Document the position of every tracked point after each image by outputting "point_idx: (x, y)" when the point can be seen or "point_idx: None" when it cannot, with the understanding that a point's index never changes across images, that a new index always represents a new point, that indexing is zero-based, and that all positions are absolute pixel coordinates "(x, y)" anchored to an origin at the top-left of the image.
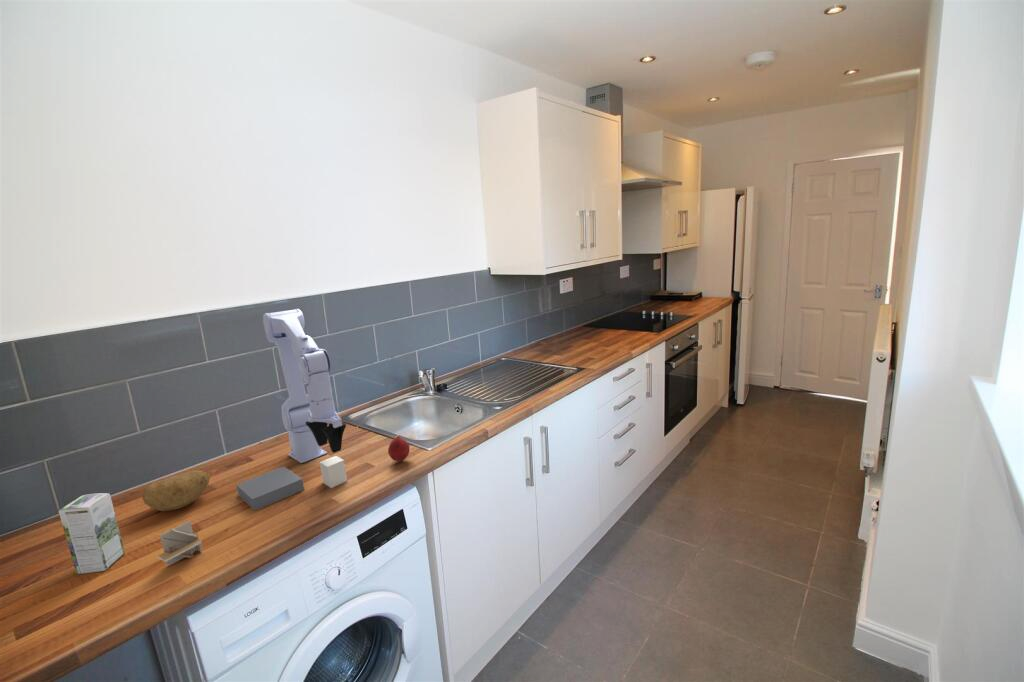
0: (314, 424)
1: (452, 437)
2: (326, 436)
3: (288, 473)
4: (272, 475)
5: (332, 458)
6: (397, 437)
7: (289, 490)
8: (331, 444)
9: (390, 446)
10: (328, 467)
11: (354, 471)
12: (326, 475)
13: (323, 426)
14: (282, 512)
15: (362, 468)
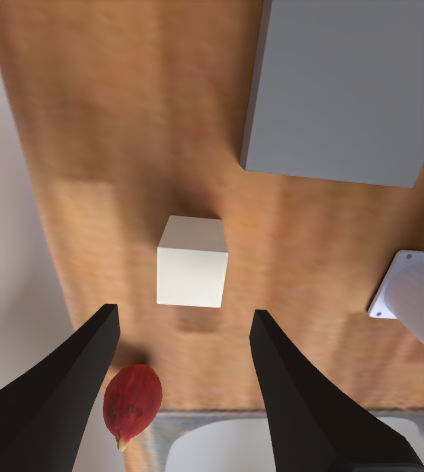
0: (313, 460)
1: (150, 450)
2: (48, 389)
3: (340, 165)
4: (396, 117)
5: (209, 291)
6: (118, 442)
7: (250, 113)
8: (67, 340)
9: (128, 403)
10: (158, 248)
11: None
12: (186, 230)
13: (279, 443)
14: (154, 20)
15: (197, 312)
